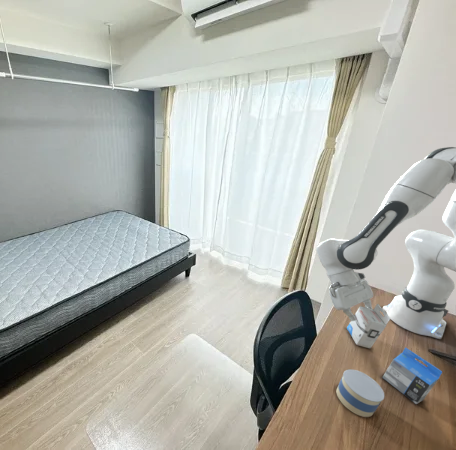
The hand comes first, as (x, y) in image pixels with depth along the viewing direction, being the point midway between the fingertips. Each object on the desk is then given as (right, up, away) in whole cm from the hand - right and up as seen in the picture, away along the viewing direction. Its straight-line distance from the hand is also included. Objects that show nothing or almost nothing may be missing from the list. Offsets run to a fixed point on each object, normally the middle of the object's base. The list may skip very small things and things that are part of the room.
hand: (362, 316), depth 90 cm
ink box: (0, -10, +3) cm, 10 cm away
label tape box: (-1, -17, -15) cm, 23 cm away
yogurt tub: (-19, -18, -19) cm, 32 cm away
